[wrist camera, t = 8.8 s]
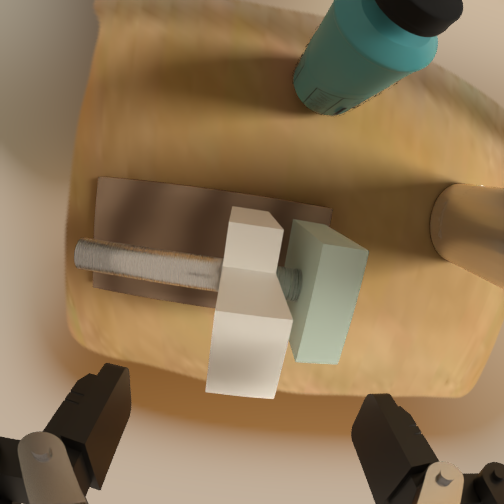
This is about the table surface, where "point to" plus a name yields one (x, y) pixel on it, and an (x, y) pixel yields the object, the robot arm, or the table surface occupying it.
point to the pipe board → (181, 227)
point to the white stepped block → (249, 310)
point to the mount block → (323, 290)
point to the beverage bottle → (369, 49)
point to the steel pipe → (167, 266)
